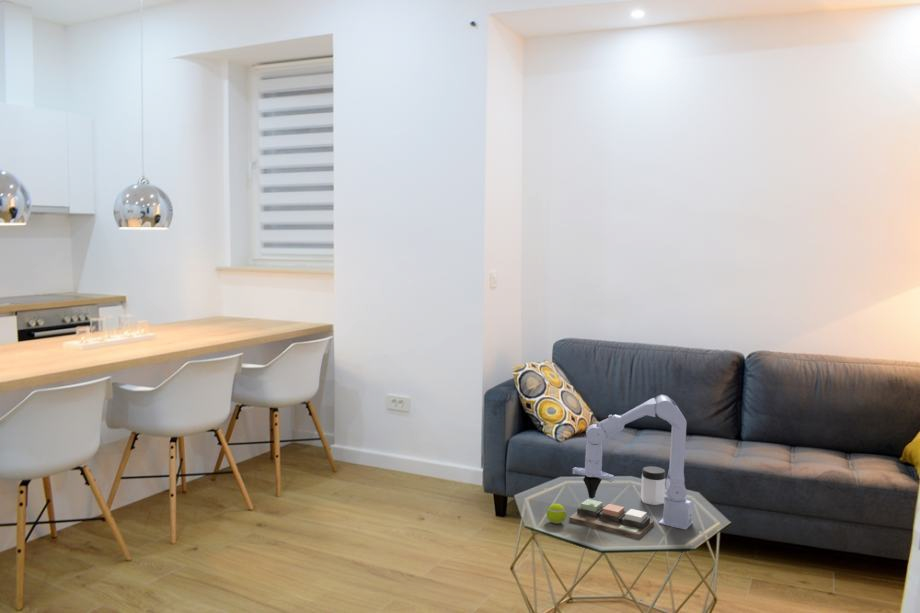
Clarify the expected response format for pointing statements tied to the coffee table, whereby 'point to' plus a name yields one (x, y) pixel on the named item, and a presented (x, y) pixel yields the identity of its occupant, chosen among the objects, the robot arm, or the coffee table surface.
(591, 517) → the console
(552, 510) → the tennis ball
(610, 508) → the key terracotta
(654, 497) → the jar
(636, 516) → the key white
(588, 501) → the key sage
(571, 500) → the coffee table surface
